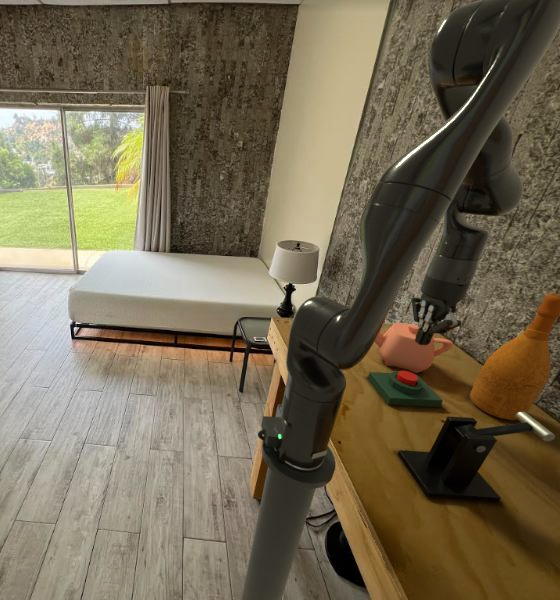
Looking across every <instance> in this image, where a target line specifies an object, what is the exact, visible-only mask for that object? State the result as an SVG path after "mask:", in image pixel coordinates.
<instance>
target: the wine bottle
mask: <svg viewBox="0 0 560 600" xmlns="http://www.w3.org/2000/svg"><path fill="white" fill-rule="evenodd" d="M536 313H537V315H536V316H535V318H534V319H533V321H532V322H531V323H530V324H529V325H528V327H527V328H526V329H525V330H520V331H519V333H518V334H517V336H516V337H514V338H513V339H511V340H509V341H508V342H506V343H504V344H503V345H502V346H500V347H498V349H496V350H495V351H494V352H492V353H491V355H489V357H488V358H487V359H486V361H485V362H484V364H483V366H482V368H481V370H480V371H479V373H478V376H477V377H476V379H475V381H474V384H473V386H472V388H471V390H470V394H469V399H470V401H471V402H472V403H473V405H475V406H476V407H477V409H480V410H481V411H483V412H485V413H486V414H488V415H491V416H493V417H496V418H499V419H504V420H507V421H516V420H518V419H517V418H516V417H515V415H516V414H517V413H518V412H526V413H527V414H528V412H529V410H530V409H531V408H532V406H533V405H534V403H535V402H536V400H537V399H538V397H539V396H540V395H541V393H542V392H543V390H544V388H545V387H546V385H547V383H548V381H549V378H550V375H551V355H550V354H551V353H550V348H549V337H550V334H551V330H552V327H553V325H554V324H555V322H556V321H557V320H558V318H560V293H556V292H555V293H553V292H551V293H548V294H546V295H545V296H544V297H543V301H542V302H541V304H540V305H539V306H538V307H537V310H536Z"/></svg>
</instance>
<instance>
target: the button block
mask: <svg viewBox="0 0 560 600" xmlns="http://www.w3.org/2000/svg"><path fill="white" fill-rule="evenodd" d="M399 371H400V370H393V371H392V372H379V371H378V372H375V371H369V372H368V375H367V380H368V381H369V382H370V383H371V385H372V386H373V388H374V389H375V390H376V391H377V392H378V394H379V395H380V396H381V398H382V399H383V400H384V402H385V403H386V404H387V405H389V406H390V405H391V406H406V407H408V406H409V407H427V408H429V407H430V408H440V407H441V406H442V404H443V401H444V400H443V399H442V398H441V397H440V396H439V395H438V394H437V392H435V391H434V390H433V389H432V388H431V387H430V386H429V385H428V384H427V383H426V382H425V381H424V380H423V379H422V378H421V377H420V376H419V375H418V373H414V374H415V375H416V376H417V377H418V380H417V382H416V385H415V386H409V385H406V384H403V383H401V382H399V381H398V380H397V379H396V377H397V375H398V372H399Z"/></svg>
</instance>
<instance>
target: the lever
mask: <svg viewBox="0 0 560 600" xmlns="http://www.w3.org/2000/svg"><path fill="white" fill-rule="evenodd" d="M515 417H516V418H517V420H518V421H519V422H518V423H510V424H505V425H504V424H503V425H496V426H490V427H483V428H476V426H475V427H474V426H473V425H472V424H470V425H463V426H456V427H454V434H453V436H454V437H455V438H456V439H457V441H458V442H459V443H460V442H461V440H462V438H463V436H464V435H465V434H472V435H489V436H493V437H497V436H506V435H507V436H508V435H513V434H520V433H522V434H523V433H528V432H533V433H534V434H535V435H536V436H537V437H539V438H540V439H541V440H542V441H543V442H544V441H545V442H552V441H553V440H554V439H555V438H556V435H555V434H554V433H553V432H551V431H550V430H549V429H547V428H546V427H545V426H544V425H542V424H541V423H540V422H539V421H537V420H536V419H535V418H533V416H531V415H530V414H528V412H527V413H526V412H518V413H517V414H516V415H515Z"/></svg>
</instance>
